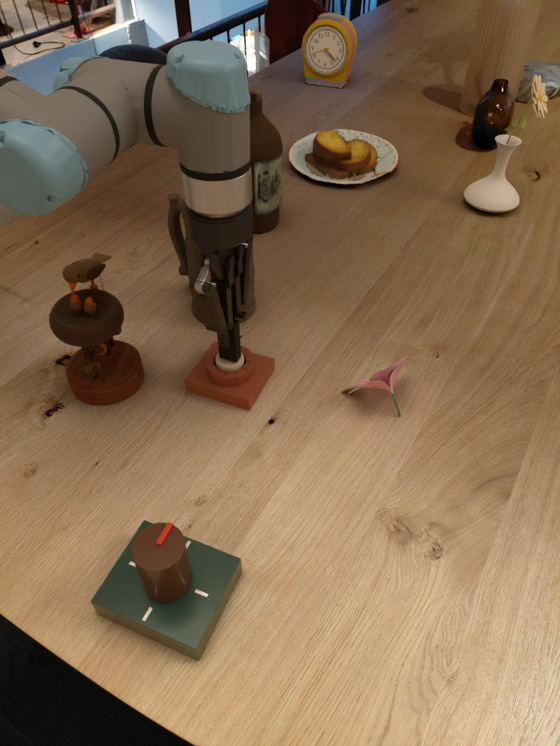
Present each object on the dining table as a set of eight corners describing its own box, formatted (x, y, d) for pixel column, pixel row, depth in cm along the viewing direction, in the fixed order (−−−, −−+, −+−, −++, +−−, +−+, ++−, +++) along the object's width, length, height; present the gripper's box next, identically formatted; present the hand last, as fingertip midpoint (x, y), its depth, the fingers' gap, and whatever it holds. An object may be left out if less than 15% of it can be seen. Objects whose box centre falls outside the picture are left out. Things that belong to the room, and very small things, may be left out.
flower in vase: (493, 223, 115) (533, 93, 97) (450, 201, 121) (481, 75, 104) (533, 205, 120) (578, 79, 103) (490, 184, 127) (525, 62, 109)
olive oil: (218, 221, 115) (208, 90, 97) (256, 203, 120) (253, 75, 102) (254, 241, 109) (251, 107, 92) (292, 221, 115) (296, 91, 97)
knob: (177, 610, 56) (167, 577, 51) (133, 592, 57) (120, 558, 52) (200, 566, 60) (193, 530, 54) (158, 549, 61) (148, 513, 56)
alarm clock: (299, 84, 171) (301, 14, 158) (307, 75, 177) (310, 7, 164) (347, 90, 168) (354, 19, 155) (354, 81, 174) (360, 12, 161)
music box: (78, 347, 88) (55, 233, 74) (151, 351, 88) (141, 240, 74) (52, 423, 77) (18, 307, 63) (135, 427, 78) (119, 313, 64)
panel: (96, 613, 59) (89, 600, 57) (148, 533, 66) (143, 518, 63) (199, 661, 56) (195, 649, 54) (242, 571, 62) (241, 557, 60)
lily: (423, 381, 85) (406, 324, 81) (450, 417, 74) (431, 352, 70) (347, 409, 86) (327, 353, 82) (362, 447, 75) (340, 385, 71)
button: (211, 372, 80) (210, 363, 79) (224, 354, 83) (223, 345, 82) (236, 379, 79) (236, 371, 78) (248, 361, 82) (248, 352, 81)
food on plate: (417, 164, 134) (423, 136, 129) (350, 202, 121) (354, 172, 116) (335, 132, 146) (337, 106, 141) (266, 163, 133) (266, 135, 129)
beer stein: (270, 298, 97) (262, 186, 83) (241, 335, 90) (226, 220, 76) (193, 280, 102) (173, 172, 88) (160, 314, 95) (133, 203, 81)
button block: (186, 390, 81) (183, 371, 79) (214, 351, 87) (212, 331, 85) (249, 411, 79) (248, 391, 76) (274, 369, 85) (274, 349, 82)
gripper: (215, 171, 68) (226, 322, 85) (158, 223, 60) (183, 379, 76) (272, 183, 66) (272, 335, 83) (222, 238, 58) (234, 395, 74)
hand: (230, 356), depth 80 cm, fingers closed
